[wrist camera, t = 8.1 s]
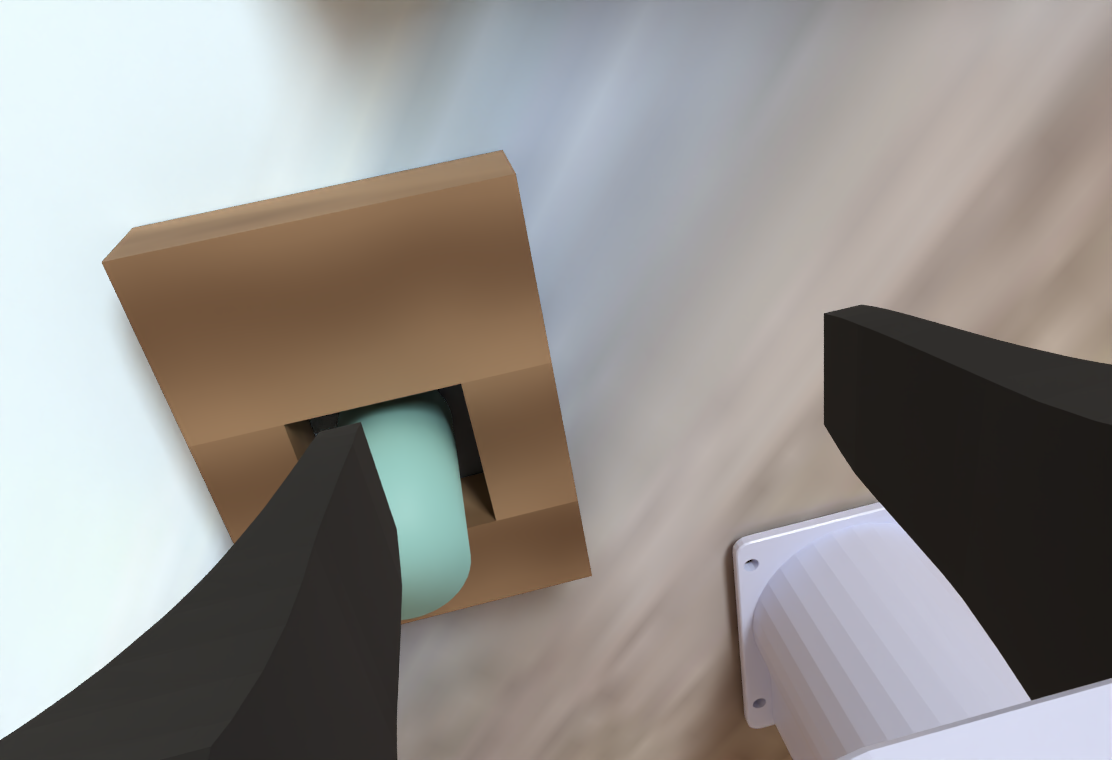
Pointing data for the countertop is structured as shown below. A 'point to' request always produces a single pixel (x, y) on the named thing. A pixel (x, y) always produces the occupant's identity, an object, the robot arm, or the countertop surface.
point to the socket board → (365, 346)
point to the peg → (420, 494)
